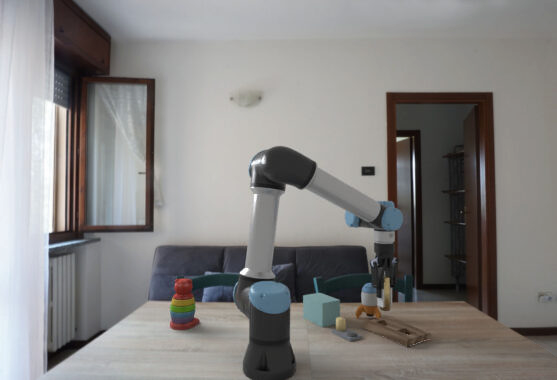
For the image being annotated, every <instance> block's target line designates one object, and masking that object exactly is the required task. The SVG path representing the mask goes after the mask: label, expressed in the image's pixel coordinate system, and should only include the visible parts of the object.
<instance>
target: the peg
mask: <svg viewBox="0 0 557 380" xmlns="http://www.w3.org/2000/svg"><path fill="white" fill-rule="evenodd" d="M382 289H384V307H380V306H379V311H383V312H389V311H391V306H390V277H387V276H385V275H384V280H383V288H382Z"/></svg>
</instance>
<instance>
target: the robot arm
mask: <svg viewBox="0 0 557 380" xmlns="http://www.w3.org/2000/svg"><path fill="white" fill-rule="evenodd" d="M248 176H249V177H250V183H249V184H250V185H249V189H250V190H251V193H252V194H253V197H252V198H253V199H252V208H251V214H250V224H249V233H248V240H247V246H246V247H247V249H246V255H245V256H246V257H245V265H244V267H243V269H241V270H240V271H239V276H238V281H237V282H236V283H235V285H234V287H233V291H232V297H233V302H234V303H235V306H236V308H237V309H238V310H239V312H240V313H242V314H243V315H245V317H246V318H247V319H248V324H249V328H248V329H249V331H248V333H249V334H248V335H249V336H248V344H247V346H246V350H245V352H244V355H243V360H242V372H243V374H244V375H245V376H246V377H247V378H250V379H251V380H287V379H288V378H291V377H292V376H293V375H294V374H295V373H296V372H297V359H296V355H295V352H294V350H293V347H292V343H291V306H292V305H291V304H292V299H291V298H292V297H291V291H290V289H289V288H288V286H287V285H285V284H284V283H282V282H276V275H275V273H274V272H273V270H272V267H273V259H274V249H275V241H276V233H277V225H278V215H279V214H278V213H279V207H280V199H281V196H283V195H284V194H285V193H286V188H287V187H286V186H287V185H288V186H291V187H294V188H296V189H298V190H299V191H303V190H307V191H308V192H311V194H312V193H313V194H314V195H316V196H318V197H320V198H322V199H324V200H325V201H328V202H329V203H331V204H333V205H335V206H337V207H338V208H340V209H342V210H344V211H345V213H344V221H345V224H346V226H348V227H350V228H356V229H358V228H365V229H373V241H374V243H373V251H374V253H375V257H374V259H373V260H369V265H370V274H371V275H370V276H371V277H370V278H371V283H372V287H374V288H376V294H377V295H376V296H377V306H378V307H379V308H380V307H384V289H382V288H383V280H384V276H387V277H390V307H391V306H393V295H394V289H395V288H396V286H397V285H398V269H399V262H400V259H399V258H396V257H395V255H394V253H396V244H395V241H396V240H395V239H396V238H395V237H396V234H395V231H397V230H398V229H400V228H401V227H402V225H403V222H404V216H403V213H402V211H401V210H400V209H398V208H396V207H395V203H394V202H393V200H375V199H373V198H372V197H370V196H368V195H366V194H365V193H363V192H362V191H360V190H358V189H356V188H354V187H353V186H351V185H350V184H348V183H346V182H344V181H343V180H341V179H339V178H337V177H336V176H334V175H332V174H330V173H328V171H325V170H323V169H322V168H320V167H318V163H317V162H316V161H315V160H313V159H312V158H309V157H308V156H306V155H304V154H303V153H302V152H299V151H297V150H295V149H293V148H291V147H288V146H284V145H276V146H272V147H270V148H268V149H263V150H261V151H259V152H257V153H256V154H254V156H252V158H251V160H250V161H249V164H248Z"/></svg>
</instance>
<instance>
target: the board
mask: <svg viewBox="0 0 557 380" xmlns="http://www.w3.org/2000/svg"><path fill="white" fill-rule="evenodd" d="M362 328H365V329H364V330H366V329H367V330H366V331H368V330H369V331H368V332H370V331H372V332H371V333H373V332H374V333H373V334H375V333H377V334H379V335H381V336H380V337H382V336H384V337H386V338H388V339H387V340H389V339H391V340H393V341H395V342H394V343H396V342H398V343H400V344H402V345H401V346H403V345H405V346H410V345H413V344H416V343H418V342H421V341H424V340H427V339H432V338H431V335H432V334H431V332H429V331H426V330H424V329H421V328H419V327H416V326H413V325H410V324H408V323H405V322H403V321H399V320H396V319H394V318H391V317H388V316H381V318H373V319H369V320H364V321H362ZM377 334H376V335H377ZM407 334H408V335H407ZM379 335H378V336H379ZM384 337H383V338H384ZM386 338H385V339H386ZM391 340H390V341H391ZM393 341H392V342H393ZM398 343H397V344H398ZM400 344H399V345H400ZM405 346H404V347H405ZM413 346H414V345H413ZM410 347H411V346H410Z"/></svg>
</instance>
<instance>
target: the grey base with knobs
mask: <svg viewBox="0 0 557 380" xmlns="http://www.w3.org/2000/svg"><path fill="white" fill-rule="evenodd" d="M346 320H347V318H345V317H343V316H340V317H337V318H336V324H335V328H333V329H331V333H332V334H334V335H335V336H338V337H339V338H342V339H343V340H346V341H348V342H352V340H354V341H357V340H361V339H363V335H362V334H359V333H358V332H355V331H353V330H351V329H349V328H346V324H347V321H346ZM360 338H361V339H360ZM356 339H357V340H356Z"/></svg>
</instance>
